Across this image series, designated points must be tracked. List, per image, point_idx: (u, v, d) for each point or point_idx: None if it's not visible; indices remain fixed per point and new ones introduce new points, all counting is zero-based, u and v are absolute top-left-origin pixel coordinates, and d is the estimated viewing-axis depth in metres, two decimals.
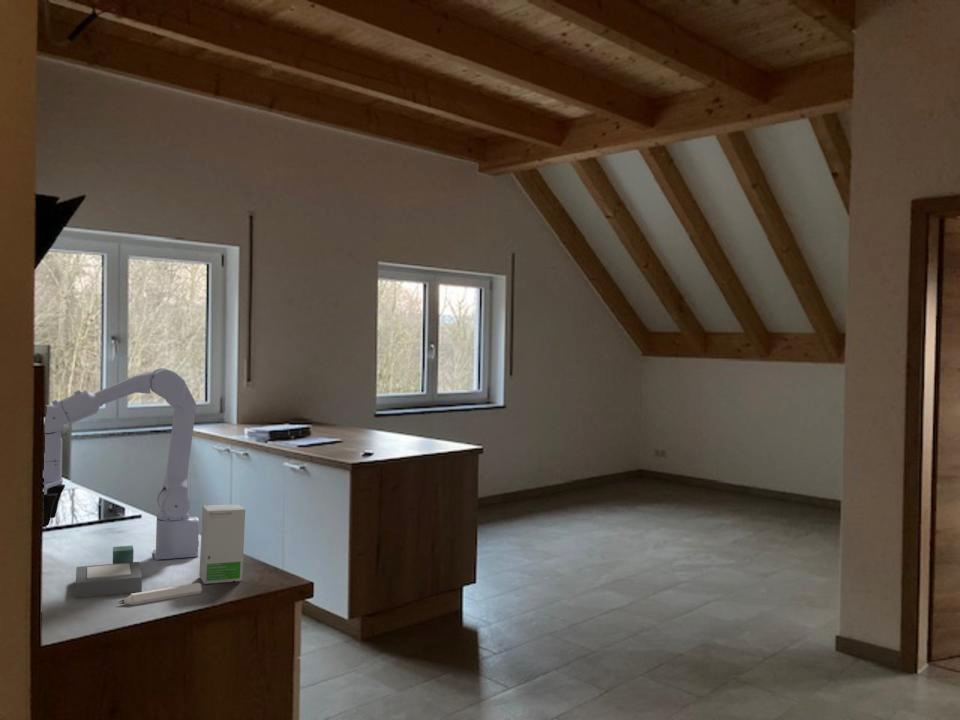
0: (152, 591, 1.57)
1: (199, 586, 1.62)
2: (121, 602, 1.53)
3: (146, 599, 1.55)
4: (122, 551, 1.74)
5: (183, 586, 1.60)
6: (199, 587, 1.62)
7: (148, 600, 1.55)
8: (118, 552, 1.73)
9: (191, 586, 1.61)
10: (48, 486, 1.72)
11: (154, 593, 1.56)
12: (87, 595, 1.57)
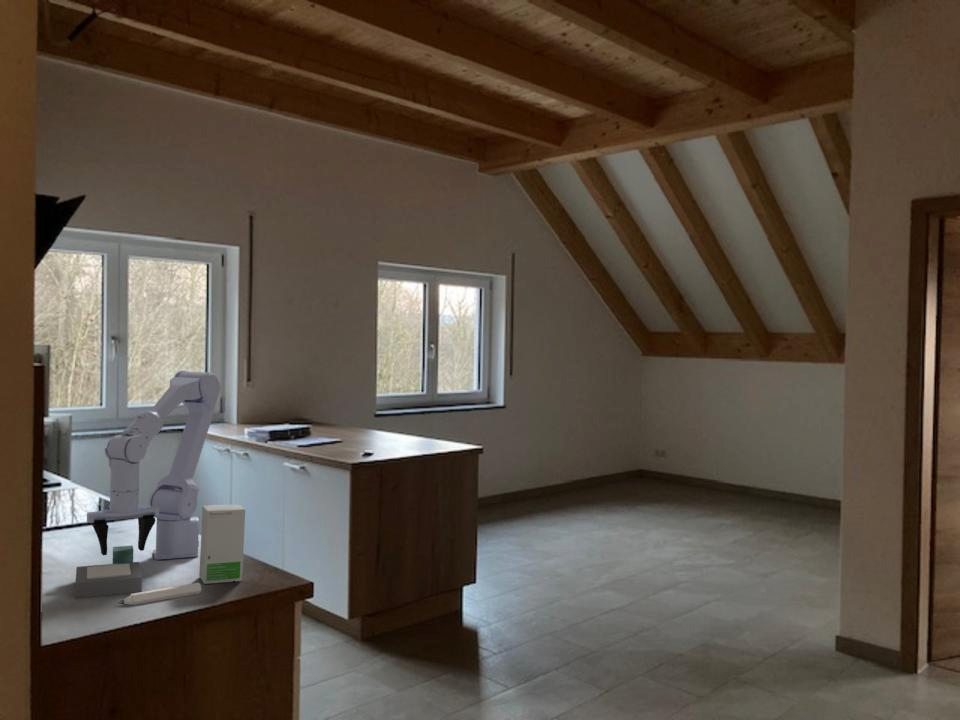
0: (152, 591, 1.57)
1: (199, 586, 1.62)
2: (121, 602, 1.53)
3: (146, 599, 1.55)
4: (122, 551, 1.74)
5: (183, 586, 1.60)
6: (199, 587, 1.62)
7: (148, 600, 1.55)
8: (118, 552, 1.73)
9: (191, 586, 1.61)
10: (97, 515, 1.71)
11: (153, 593, 1.56)
12: (87, 595, 1.57)
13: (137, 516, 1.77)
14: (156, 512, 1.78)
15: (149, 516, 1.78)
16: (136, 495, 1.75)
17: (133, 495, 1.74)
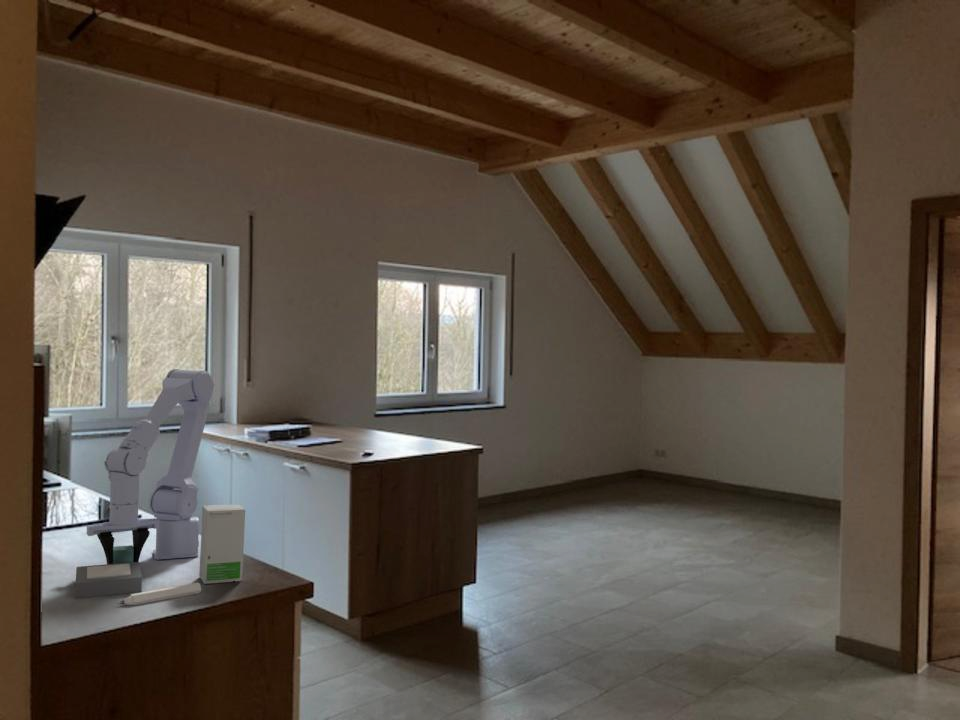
0: (152, 591, 1.56)
1: (198, 586, 1.62)
2: (121, 603, 1.53)
3: (146, 599, 1.55)
4: (122, 551, 1.74)
5: (183, 586, 1.60)
6: (198, 587, 1.62)
7: (148, 600, 1.55)
8: (118, 552, 1.73)
9: (191, 586, 1.61)
10: (96, 528, 1.71)
11: (154, 594, 1.56)
12: (87, 595, 1.57)
13: (137, 528, 1.77)
14: (156, 524, 1.79)
15: (149, 528, 1.78)
16: (136, 508, 1.75)
17: (133, 508, 1.74)
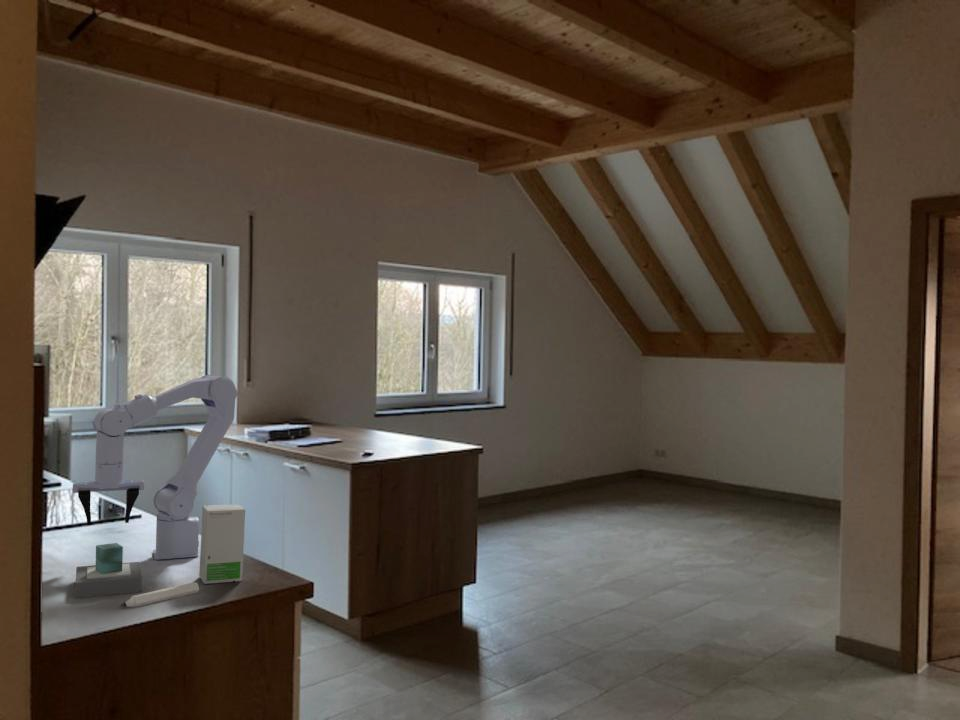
0: (152, 592, 1.56)
1: (196, 585, 1.62)
2: (123, 605, 1.51)
3: (148, 600, 1.54)
4: (111, 549, 1.63)
5: (181, 586, 1.60)
6: (196, 586, 1.62)
7: (149, 602, 1.55)
8: (107, 550, 1.62)
9: (189, 586, 1.61)
10: (80, 486, 1.76)
11: (154, 595, 1.55)
12: (87, 595, 1.57)
13: (122, 489, 1.80)
14: (141, 486, 1.81)
15: (134, 489, 1.81)
16: (119, 468, 1.78)
17: (115, 468, 1.77)
